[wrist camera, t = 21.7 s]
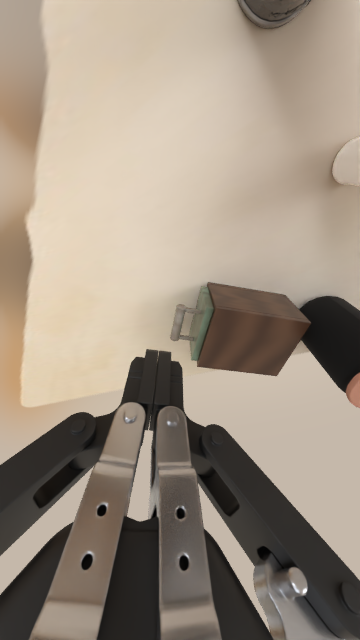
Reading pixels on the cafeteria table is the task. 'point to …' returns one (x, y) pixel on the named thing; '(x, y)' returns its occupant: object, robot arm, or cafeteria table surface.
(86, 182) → the cafeteria table surface
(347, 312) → the coffee jar
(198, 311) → the drawer
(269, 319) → the cabinet
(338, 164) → the white cup
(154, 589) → the robot arm
